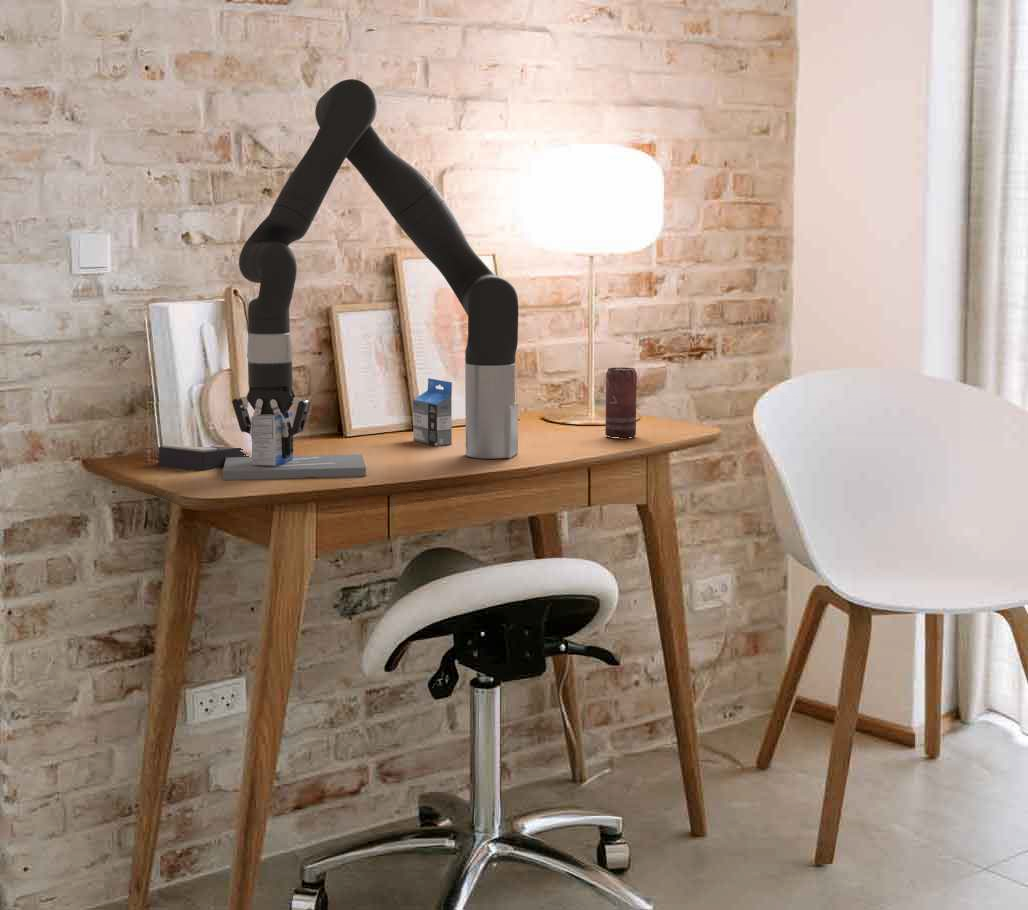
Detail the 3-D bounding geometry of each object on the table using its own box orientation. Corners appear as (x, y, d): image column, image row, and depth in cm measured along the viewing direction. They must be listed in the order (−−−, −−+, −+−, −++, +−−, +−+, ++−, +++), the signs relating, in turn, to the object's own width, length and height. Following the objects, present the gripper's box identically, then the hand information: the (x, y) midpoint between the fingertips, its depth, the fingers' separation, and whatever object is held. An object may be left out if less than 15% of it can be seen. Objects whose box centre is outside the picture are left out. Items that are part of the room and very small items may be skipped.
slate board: (361, 462, 248) (361, 454, 248) (366, 476, 234) (365, 467, 234) (226, 465, 244) (226, 457, 244) (222, 480, 231) (222, 471, 230)
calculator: (261, 441, 251) (202, 447, 239) (261, 464, 252) (202, 472, 239) (216, 436, 257) (157, 442, 244) (216, 459, 258) (157, 466, 245)
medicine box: (275, 467, 234) (274, 416, 233) (251, 465, 235) (250, 415, 234) (293, 459, 242) (293, 410, 240) (270, 458, 243) (269, 409, 241)
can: (628, 440, 273) (629, 370, 271) (600, 437, 277) (601, 368, 274) (642, 436, 278) (643, 367, 276) (614, 433, 282) (615, 366, 279)
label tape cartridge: (412, 440, 273) (411, 379, 271) (428, 439, 275) (427, 378, 273) (436, 446, 266) (435, 383, 264) (453, 444, 268) (452, 382, 266)
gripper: (317, 358, 237) (319, 455, 240) (240, 356, 241) (243, 452, 243) (300, 362, 230) (302, 462, 233) (222, 360, 233) (225, 459, 236)
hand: (272, 456), depth 238 cm, fingers closed on medicine box, 4 cm apart
